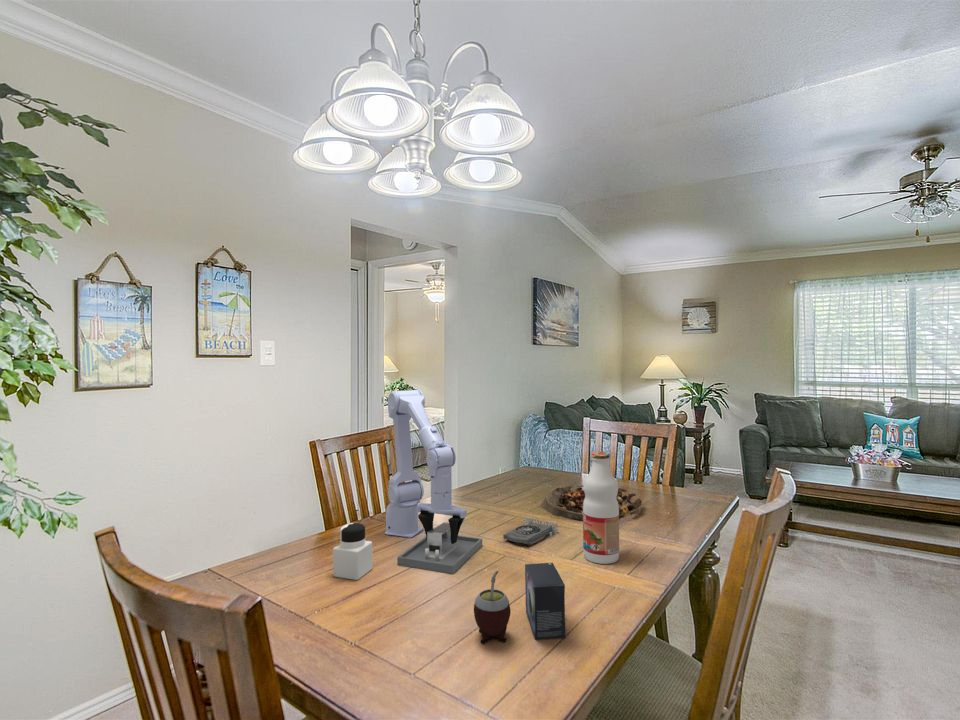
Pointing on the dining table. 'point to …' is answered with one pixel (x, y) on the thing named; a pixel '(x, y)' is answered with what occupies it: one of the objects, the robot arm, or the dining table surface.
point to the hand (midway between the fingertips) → (441, 540)
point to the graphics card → (531, 531)
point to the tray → (447, 563)
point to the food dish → (572, 503)
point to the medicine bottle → (352, 553)
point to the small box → (545, 601)
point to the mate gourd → (492, 613)
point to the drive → (440, 540)
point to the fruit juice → (600, 512)
